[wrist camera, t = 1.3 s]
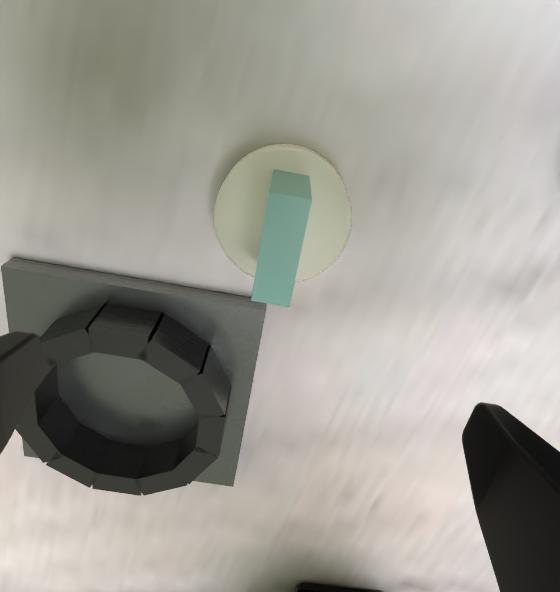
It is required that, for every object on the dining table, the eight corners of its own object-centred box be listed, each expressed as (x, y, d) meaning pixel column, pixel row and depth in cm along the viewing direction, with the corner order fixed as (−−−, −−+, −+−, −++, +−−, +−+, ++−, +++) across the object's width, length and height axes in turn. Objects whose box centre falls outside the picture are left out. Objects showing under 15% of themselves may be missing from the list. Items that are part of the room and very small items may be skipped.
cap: (362, 157, 19) (382, 187, 14) (331, 277, 21) (340, 335, 17) (227, 131, 18) (206, 154, 14) (213, 257, 21) (190, 309, 17)
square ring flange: (266, 300, 22) (262, 336, 19) (235, 472, 27) (228, 520, 25) (13, 257, 21) (-31, 288, 18) (33, 442, 27) (2, 488, 24)
